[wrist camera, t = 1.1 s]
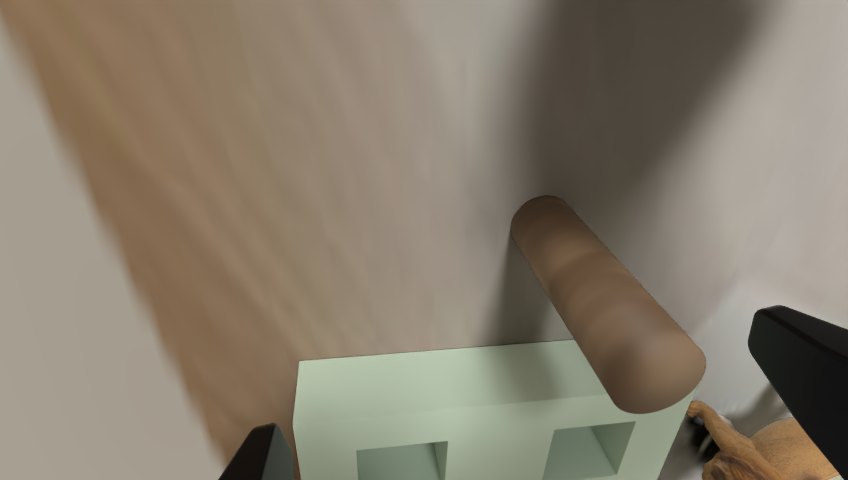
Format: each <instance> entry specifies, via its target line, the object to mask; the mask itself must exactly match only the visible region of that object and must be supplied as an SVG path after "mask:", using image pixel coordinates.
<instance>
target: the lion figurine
mask: <svg viewBox="0 0 848 480" xmlns="http://www.w3.org/2000/svg"><path fill="white" fill-rule="evenodd" d="M686 413H687V414H688V415H689V416H690V417H695V416H698V417H700V418H701V419H702V420H703V421H704V422H705V427H706V429H707V430H708V431H709V433H710V434H711V436H712V438H713V440H714V441H715V442H716V444H717V445H718V447H719V448H720V451H719V452H718V453H716V455H715V456H714V458H713V459H712V460H711V461H709V462H707V463H706V464H704V466H703V473H702V479H703V480H828V479H830V478H833V477H835V476H838V475H840V474H839V473H838V472H837V471H836V469H835V468H834V467H833V466H832V464H831V463H830V462H829V461H828V460H827V458H826V457H825V456H824V455H823V454H822V452H821V451H820V450H819V449H818V447H817V446H816V445H815V444H814V443H813V441H812V440H811V439H810V438H809V436H808V435H807V434H806V433H805V431H804V430H803V429H802V428H801V426H800V425H799V423H798V422H797V421H796V419H795V418H794V417H789V418H785V419H780V420H777V421H775V422H773V423H770V424H768V425H767V426H765V427H764V428H762V429H761V430H759V431H758V432H756V433H755V434H753V435H752V436H751V437H749V438H747V437H746V436H744V435H742V434H740V433H738V431H737V430H736V429H735V427H734V425H733V424H732V422H731V421H730V420H729V419H726V418H725V417H724V416H722V415H718V414H717V413H716V412H715V410H713V409H712V408H711V407H709V406H708V405H706V404H705V403H703V402H700V401H692V402H690V404H689V407H688V409H687V411H686Z"/></svg>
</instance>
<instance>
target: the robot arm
mask: <svg viewBox="0 0 848 480" xmlns="http://www.w3.org/2000/svg"><path fill="white" fill-rule="evenodd" d="M748 347H749V350H750V353H751V354H752V356H753V358H754V359H755V361H756V362H757V364H758V365H759V366H760V368H761V369H762V371H763V372H764V374H765V375H766V377H767V378H768V380H769V381H770V383H771V384H772V386H773V387H774V389H775V390H776V392H777V393H778V394H779V396H780V397H781V399H782V400H783V402H784V403H785V405H786V406H787V408H788V409H789V411H790V412H791V414H792V415H793V416H794V418H795V419H796V421H797V422H798V423H799V425H800V426H801V428H802V429H803V430H804V431H805V433H806V434H807V435H808V436H809V438H810V439H811V440H812V441H813V443H814V444H815V445H816V446H817V447H818V449H819V450H820V451H821V452H822V454H823V455H824V456H825V457H826V458H827V460H828V461H829V462H830V463H831V464H832V466H833V467H834V468H835V469H836V471H837V472H838V473H839V474H840V475H841V477H842V478H843V479H844V480H848V330H847V329H845V328H842V327H839V326H837V325H834V324H831V323H829V322H826V321H823V320H820V319H818V318H815V317H812V316H810V315H807V314H804V313H802V312H799V311H796V310H794V309H791V308H788V307H785V306H781V305H776V306H771V307H767V308H763V309H760V310H758V311H757V312H756V313H755V314H754V318H753V322H752V326H751V330H750V334H749V338H748ZM218 480H294V461H293V454H292V451H291V448H290V446H289V444H288V443H287V441H286V439H285V437H284V435H283V433H282V431H281V429H280V427H279V426H278V425H277V424H276V423H270V424H266V425H262V426H258V427H255V428H253V429H252V430H251V431H250V433H249V434H248V436H247V437H246V439H245V440H244V442H243V443H242V445H241V446H240V448H239V449H238V451H237V452H236V454H235V455H234V457H233V458H232V460H231V461H230V463H229V464H228V466H227V467H226V469H225V470H224V472H223V473H222V475H221V476H220V478H219V479H218Z"/></svg>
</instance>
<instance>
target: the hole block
mask: <svg viewBox="0 0 848 480" xmlns="http://www.w3.org/2000/svg"><path fill="white" fill-rule="evenodd" d="M697 386H698V385H697ZM697 386H696V387H695V389H694V390H693V391H692V392H691V393H690V394H688V395H687V396H686V397H685V398H683V399H682V400H681V401H679V402H677V403H676V404H674V405H672V406H670V407H668V408H666V409H663V410H660V411H657V412H653V413H647V414H632V413H627V412H624V411H622V410H620V409H619V408H617V407H616V406H615V405H614V403H613V402H612V400H611V398H610V397H609V395H608V393H607V392H606V390H605V388H604V387H603V385H602V384H601V382H600V380H599V379H598V377H597V375H596V374H595V372H594V370H593V369H592V367H591V366H590V364H589V362H588V361H587V359H586V357H585V356H584V354H583V352H582V351H581V349H580V348H579V346H578V344H577V343H576V341H575V340H564V341H551V342H538V343H525V344H513V345H500V346H487V347H474V348H461V349H449V350H436V351H423V352H410V353H397V354H384V355H372V356H359V357H346V358H333V359H320V360H308V361H299V370H298V379H297V389H296V398H295V407H294V416H293V430H294V437H295V443H296V450H297V456H298V463H299V469H300V475H301V480H657V478H658V476H659V474H660V471H661V469H662V467H663V465H664V462H665V460H666V458H667V455H668V453H669V451H670V448H671V446H672V444H673V441H674V439H675V437H676V434H677V432H678V430H679V428H680V425H681V423H682V421H683V418H684V416H685V414H686V411H687V409H688V407H689V404H690V402H691V400H692V398H693V395H694V393H695V391H696V388H697Z"/></svg>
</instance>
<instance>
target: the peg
mask: <svg viewBox="0 0 848 480" xmlns="http://www.w3.org/2000/svg"><path fill="white" fill-rule="evenodd" d="M511 234H512V237H513V240H514V241H515V243H516V244H517V246H518V248H519V249H520V251H521V253H522V254H523V256H524V258H525V259H526V261H527V262H528V264H529V266H530V267H531V269H532V271H533V272H534V274H535V276H536V277H537V279H538V280H539V282H540V284H541V285H542V287H543V289H544V290H545V292H546V294H547V295H548V297H549V298H550V300H551V302H552V303H553V305H554V307H555V308H556V310H557V312H558V313H559V315H560V316H561V318H562V320H563V321H564V323H565V325H566V326H567V328H568V330H569V331H570V333H571V334H572V336H573V338H574V339H575V341H576V343H577V344H578V346H579V348H580V349H581V351H582V352H583V354H584V356H585V357H586V359H587V361H588V362H589V364H590V366H591V367H592V369H593V370H594V372H595V374H596V375H597V377H598V379H599V380H600V382H601V384H602V385H603V387H604V388H605V390H606V392H607V393H608V395H609V397H610V398H611V400H612V402H613V403H614V405H615V406H616V407H617V408H619V409H620V410H622V411H624V412H627V413H632V414H647V413H653V412H657V411H660V410H663V409H666V408H668V407H670V406H672V405H674V404H676V403H677V402H679V401H681V400H682V399H683V398H685V397H686V396H687V395H688V394H690V393H691V392H692V391H693V390H694V389H695V387H696V386H697V385H698V384H699V382H700V381H701V379H702V377H703V375H704V372H705V368H706V359H705V356H704V353H703V352H702V351H701V349H700V348H699V347H698V346H697V345H696V344H695V343H694V342H693V341H692V340H691V338H690V337H689V336H688V335H687V334H686V333H685V332H684V331H683V330H682V329H681V328H680V327H679V325H678V324H677V323H676V322H675V321H674V320H673V319H672V318H671V317H670V316H669V315H668V313H667V312H666V311H665V310H664V309H663V308H662V307H661V306H660V305H659V304H658V303H657V302H656V300H655V299H654V298H653V297H652V296H651V295H650V294H649V293H648V292H647V291H646V290H645V288H644V287H643V286H642V285H641V284H640V283H639V282H638V281H637V280H636V279H635V278H634V277H633V275H632V274H631V273H630V272H629V271H628V270H627V269H626V268H625V267H624V266H623V265H622V263H621V262H620V261H619V260H618V259H617V258H616V257H615V256H614V255H613V254H612V253H611V252H610V250H609V249H608V248H607V247H606V246H605V245H604V244H603V243H602V242H601V241H600V240H599V238H598V237H597V236H596V235H595V234H594V233H593V232H592V231H591V230H590V229H589V228H588V226H587V225H586V224H585V223H584V222H583V221H582V220H581V219H580V218H579V217H578V216H577V215H576V213H575V212H574V211H573V210H572V209H571V208H570V207H569V206H568V205H567V204H566V203H565V202H564V201H563V200H562V199H560V198H558V197H554V196H540V197H536V198H533V199H531V200H529V201H528V202H526V203H525V204H524V205H522V206H521V207H520V208H519V210H518V211H517V212H516V214H515V215H514V217H513V220H512V224H511Z"/></svg>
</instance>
